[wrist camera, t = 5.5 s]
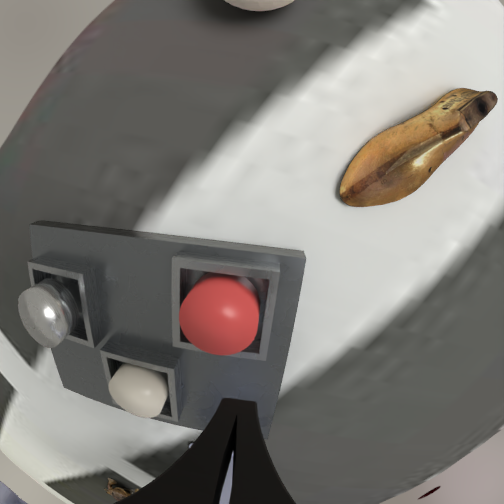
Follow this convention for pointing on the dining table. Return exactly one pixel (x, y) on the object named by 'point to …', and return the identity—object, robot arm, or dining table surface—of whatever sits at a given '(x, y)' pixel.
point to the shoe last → (413, 149)
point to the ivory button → (139, 390)
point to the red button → (221, 313)
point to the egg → (259, 4)
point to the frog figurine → (118, 491)
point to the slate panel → (165, 315)
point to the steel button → (48, 312)
